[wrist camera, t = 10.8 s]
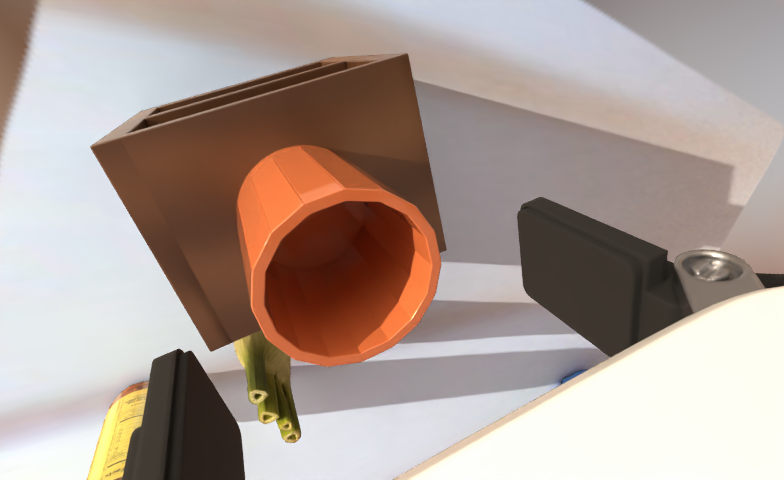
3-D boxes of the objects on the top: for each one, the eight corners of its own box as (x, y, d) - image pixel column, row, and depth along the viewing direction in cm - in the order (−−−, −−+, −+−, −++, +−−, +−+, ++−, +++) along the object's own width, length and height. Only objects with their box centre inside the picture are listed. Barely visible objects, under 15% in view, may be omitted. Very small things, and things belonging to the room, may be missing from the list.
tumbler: (212, 171, 18) (215, 235, 11) (347, 126, 20) (420, 160, 13) (266, 288, 21) (293, 395, 14) (380, 241, 23) (453, 318, 16)
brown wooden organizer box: (140, 111, 28) (89, 146, 16) (332, 57, 31) (408, 52, 20) (209, 248, 33) (210, 352, 21) (369, 189, 37) (447, 250, 25)
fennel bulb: (229, 300, 35) (237, 396, 25) (288, 292, 37) (318, 378, 27) (235, 356, 38) (245, 465, 27) (290, 346, 39) (319, 445, 29)
